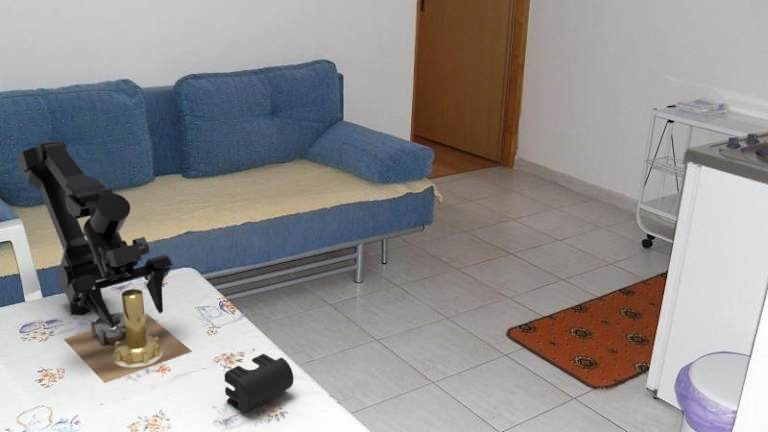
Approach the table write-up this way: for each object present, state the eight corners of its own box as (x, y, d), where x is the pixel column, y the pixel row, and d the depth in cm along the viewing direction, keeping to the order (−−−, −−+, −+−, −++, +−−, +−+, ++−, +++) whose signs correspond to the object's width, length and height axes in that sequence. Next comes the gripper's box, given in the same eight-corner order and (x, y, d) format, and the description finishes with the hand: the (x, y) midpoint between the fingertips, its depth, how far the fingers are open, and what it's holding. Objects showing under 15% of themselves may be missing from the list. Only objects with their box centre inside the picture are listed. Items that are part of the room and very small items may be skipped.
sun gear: (87, 332, 150) (85, 313, 149) (127, 320, 155) (125, 302, 154) (105, 351, 144) (103, 331, 143) (146, 337, 149) (144, 318, 148)
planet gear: (126, 340, 147) (120, 282, 143) (167, 344, 146) (162, 285, 142) (106, 363, 140) (100, 302, 135) (150, 367, 139) (144, 305, 134)
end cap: (249, 421, 128) (248, 386, 125) (223, 404, 132) (221, 370, 130) (294, 396, 135) (294, 363, 133) (268, 381, 139) (267, 348, 137)
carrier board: (64, 345, 148) (63, 337, 148) (146, 319, 159) (146, 311, 158) (105, 390, 135) (104, 381, 134) (192, 358, 146) (192, 350, 145)
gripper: (64, 237, 131) (96, 319, 127) (165, 214, 143) (197, 288, 139) (53, 264, 139) (83, 341, 136) (149, 240, 151) (179, 311, 147)
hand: (137, 319), depth 139 cm, fingers open, 9 cm apart
